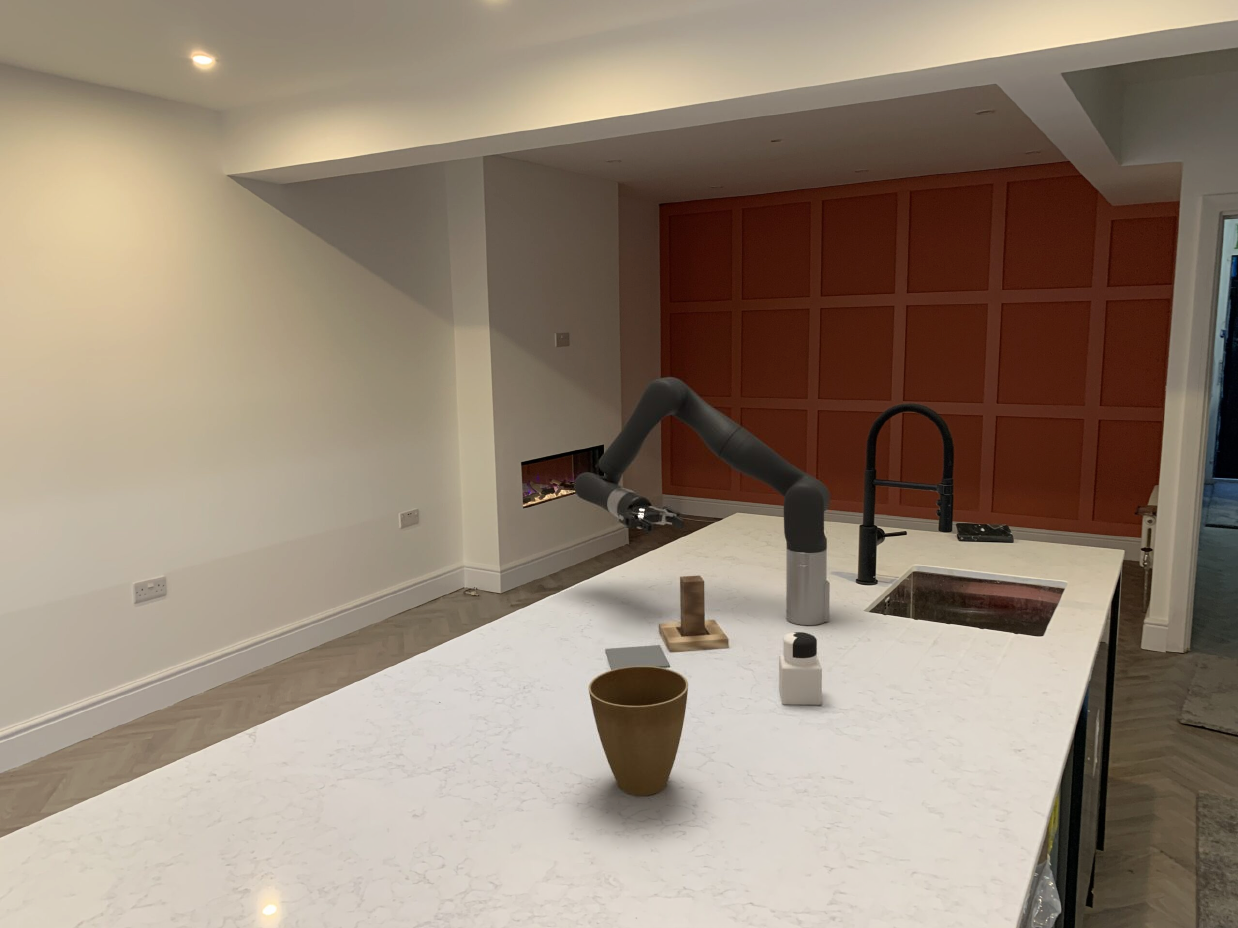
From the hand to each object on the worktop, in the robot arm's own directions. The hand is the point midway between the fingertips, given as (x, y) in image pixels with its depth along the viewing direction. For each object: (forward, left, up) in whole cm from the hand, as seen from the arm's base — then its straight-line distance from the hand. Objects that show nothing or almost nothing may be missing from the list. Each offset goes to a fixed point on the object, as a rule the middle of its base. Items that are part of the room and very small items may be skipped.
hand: (667, 526), depth 197 cm
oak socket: (-4, +9, -24) cm, 26 cm away
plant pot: (+17, +69, -24) cm, 75 cm away
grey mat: (+10, +18, -24) cm, 32 cm away
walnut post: (-4, +9, -24) cm, 26 cm away
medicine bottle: (-17, +43, -24) cm, 52 cm away
